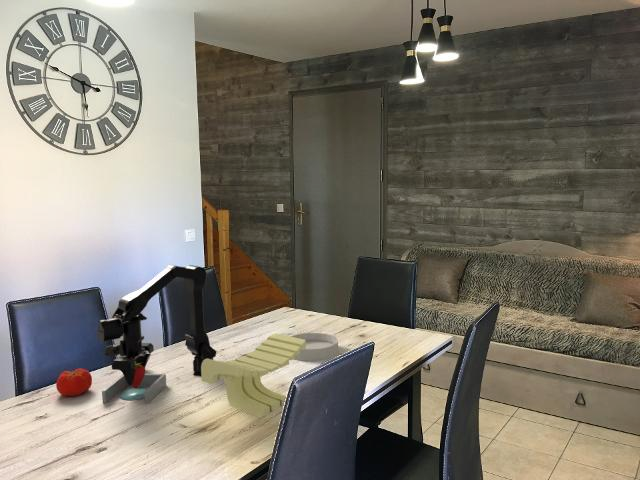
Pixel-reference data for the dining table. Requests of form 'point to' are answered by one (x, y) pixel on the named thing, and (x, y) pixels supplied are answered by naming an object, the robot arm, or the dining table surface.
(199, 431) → the dining table surface
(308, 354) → the dish
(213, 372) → the slatted curved stool
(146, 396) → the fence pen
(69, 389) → the tomato
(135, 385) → the strawberry
